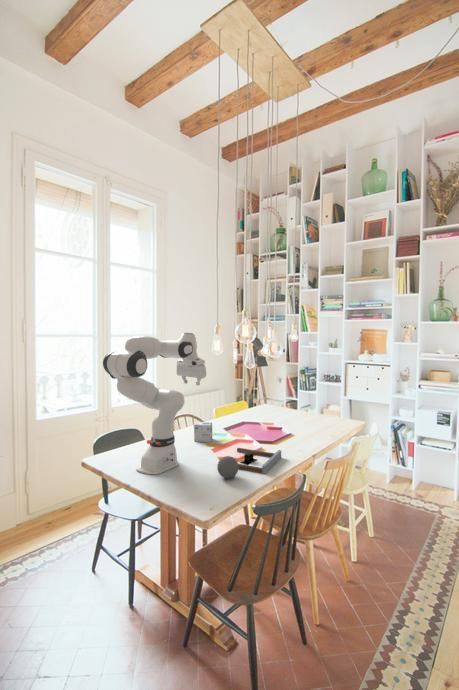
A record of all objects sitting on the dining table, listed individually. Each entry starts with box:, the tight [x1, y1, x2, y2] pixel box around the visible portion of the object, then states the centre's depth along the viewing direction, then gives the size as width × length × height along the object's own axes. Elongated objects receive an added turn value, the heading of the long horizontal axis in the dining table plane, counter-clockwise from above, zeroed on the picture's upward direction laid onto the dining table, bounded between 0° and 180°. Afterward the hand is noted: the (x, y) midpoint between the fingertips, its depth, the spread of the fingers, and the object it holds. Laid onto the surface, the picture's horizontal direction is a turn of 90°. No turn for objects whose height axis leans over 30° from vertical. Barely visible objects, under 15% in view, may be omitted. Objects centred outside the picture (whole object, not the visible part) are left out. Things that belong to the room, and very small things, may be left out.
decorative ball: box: [216, 455, 240, 480], centre depth 173 cm, size 10×10×10 cm
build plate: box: [239, 452, 258, 466], centre depth 193 cm, size 12×7×5 cm, turn 140°
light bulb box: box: [193, 421, 213, 443], centre depth 228 cm, size 11×7×11 cm, turn 84°
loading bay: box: [236, 447, 282, 475], centre depth 193 cm, size 24×26×4 cm
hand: (191, 384), depth 211 cm, fingers open, 8 cm apart
